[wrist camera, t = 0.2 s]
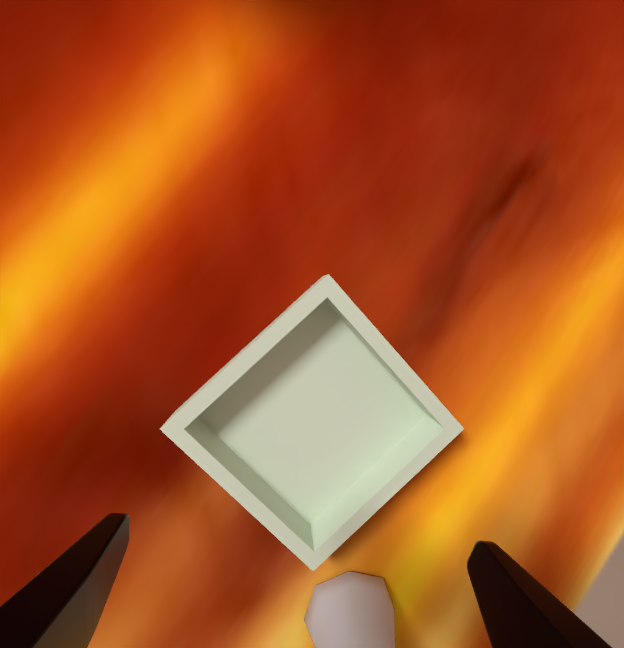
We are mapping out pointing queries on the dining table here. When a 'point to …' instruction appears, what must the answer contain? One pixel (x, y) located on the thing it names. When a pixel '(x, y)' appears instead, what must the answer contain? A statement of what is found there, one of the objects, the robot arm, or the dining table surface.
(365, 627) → the flask
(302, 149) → the dining table surface
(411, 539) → the dining table surface
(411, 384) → the tray
